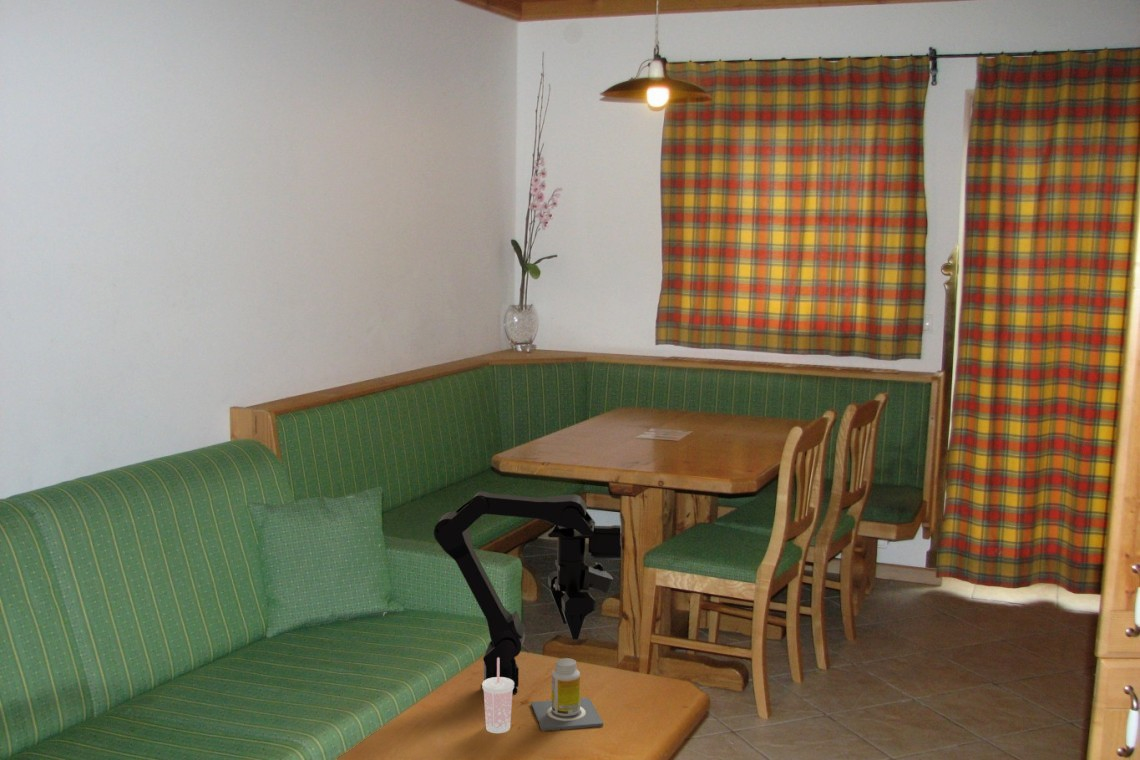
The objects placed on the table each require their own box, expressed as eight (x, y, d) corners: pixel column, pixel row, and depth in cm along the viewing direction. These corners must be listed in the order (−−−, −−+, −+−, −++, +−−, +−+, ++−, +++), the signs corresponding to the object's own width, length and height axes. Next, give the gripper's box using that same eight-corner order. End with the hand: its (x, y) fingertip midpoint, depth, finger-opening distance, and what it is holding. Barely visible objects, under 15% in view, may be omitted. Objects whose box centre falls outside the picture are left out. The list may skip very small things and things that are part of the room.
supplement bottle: (585, 712, 216) (586, 662, 215) (564, 720, 213) (564, 669, 211) (567, 703, 220) (567, 654, 219) (546, 710, 217) (546, 661, 216)
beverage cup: (518, 723, 213) (519, 654, 211) (506, 737, 207) (507, 666, 205) (489, 718, 215) (489, 650, 213) (476, 732, 209) (476, 661, 207)
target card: (541, 731, 210) (542, 727, 209) (531, 704, 221) (531, 701, 221) (603, 726, 212) (603, 722, 212) (589, 700, 224) (589, 697, 224)
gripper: (621, 569, 217) (619, 645, 219) (599, 543, 235) (598, 613, 237) (565, 572, 214) (565, 649, 216) (547, 545, 232) (547, 616, 235)
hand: (570, 631), depth 226 cm, fingers open, 9 cm apart
